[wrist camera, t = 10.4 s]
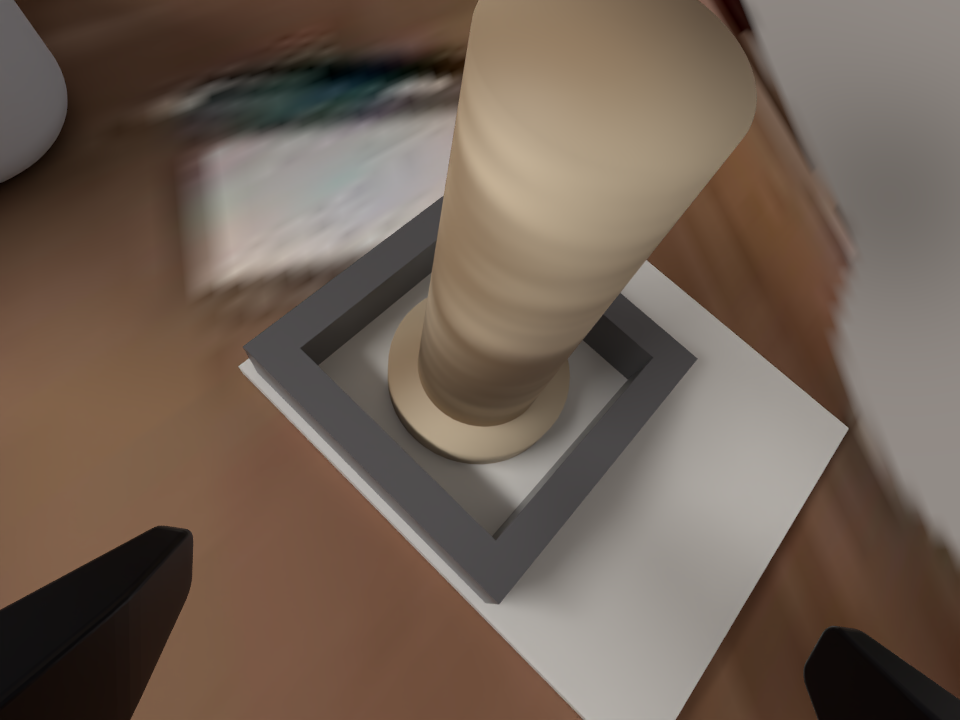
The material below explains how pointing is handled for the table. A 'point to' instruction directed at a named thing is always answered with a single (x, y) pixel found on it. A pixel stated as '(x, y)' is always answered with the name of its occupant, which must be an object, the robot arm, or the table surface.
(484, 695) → the table surface
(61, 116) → the plastic bottle
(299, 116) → the table surface
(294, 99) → the table surface
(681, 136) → the peg
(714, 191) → the table surface
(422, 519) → the collar board
